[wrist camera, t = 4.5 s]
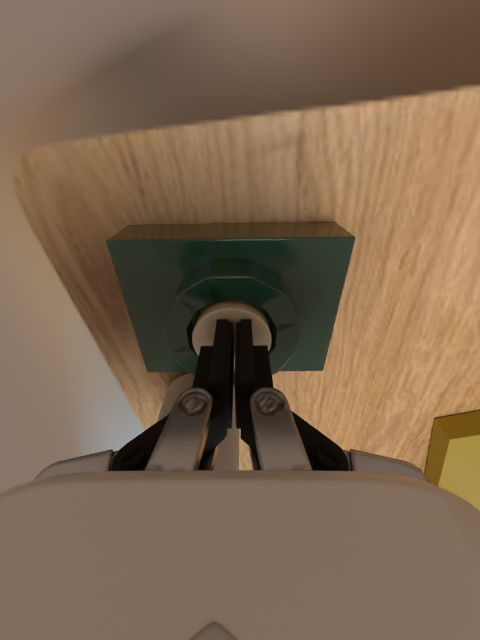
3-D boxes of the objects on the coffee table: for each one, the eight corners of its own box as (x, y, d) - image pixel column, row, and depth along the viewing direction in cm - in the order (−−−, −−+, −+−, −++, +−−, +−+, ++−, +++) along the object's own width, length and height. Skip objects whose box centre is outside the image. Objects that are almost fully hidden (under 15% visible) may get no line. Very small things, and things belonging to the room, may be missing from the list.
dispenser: (158, 344, 19) (136, 397, 15) (128, 224, 14) (83, 254, 10) (312, 343, 19) (332, 395, 15) (336, 221, 14) (375, 250, 10)
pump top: (201, 347, 15) (196, 371, 14) (193, 288, 13) (186, 309, 11) (266, 346, 15) (269, 370, 14) (269, 287, 13) (274, 308, 11)
